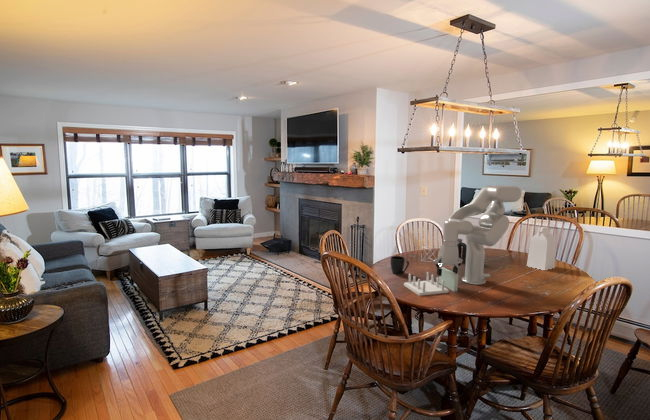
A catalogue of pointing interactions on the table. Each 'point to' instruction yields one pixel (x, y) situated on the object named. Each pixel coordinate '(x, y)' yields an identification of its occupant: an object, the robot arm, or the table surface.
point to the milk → (542, 250)
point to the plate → (449, 279)
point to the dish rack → (426, 286)
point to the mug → (398, 264)
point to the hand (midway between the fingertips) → (447, 275)
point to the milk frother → (460, 246)
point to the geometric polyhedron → (427, 253)
